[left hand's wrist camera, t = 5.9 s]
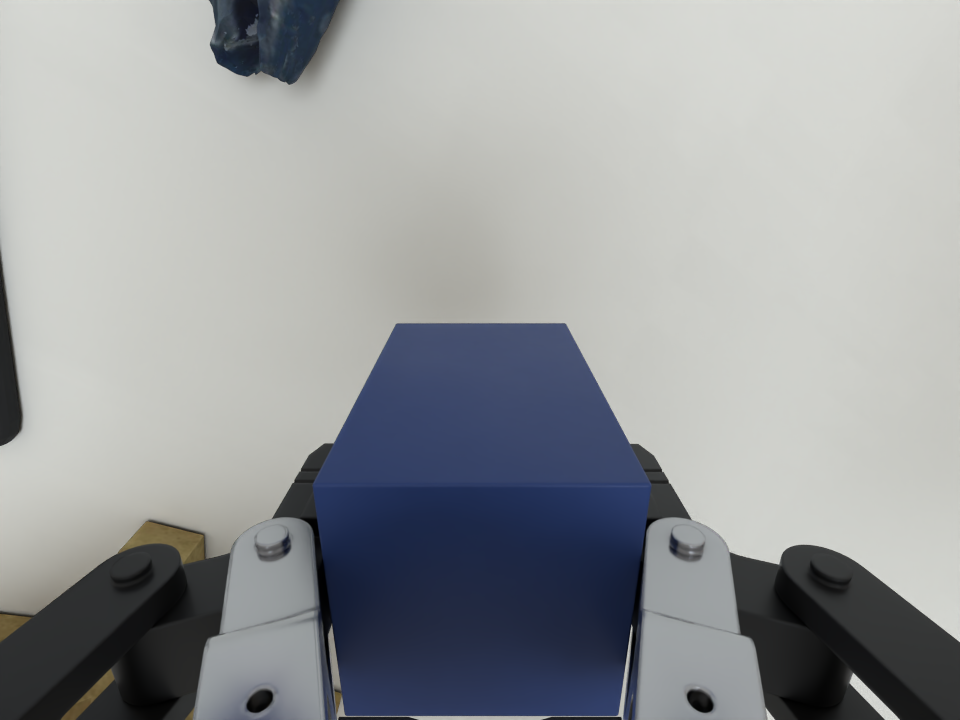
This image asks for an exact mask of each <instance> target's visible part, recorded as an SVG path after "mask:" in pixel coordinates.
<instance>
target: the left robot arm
mask: <svg viewBox="0 0 960 720" xmlns="http://www.w3.org/2000/svg"><path fill="white" fill-rule="evenodd" d="M630 445H631V447H632V449H633V451H634V453H635V455H636V457H637V458H638V460H639V462H640V464H641V466H642V468H643V470H644V472H645V473H646V475H647V477H648V479H649V481H650V483H651V485H652V486H651V492H650V499H649V506H648V513H647V520H646V527H645V534H644V541H643V548H642V555H641V561H640V568H639V575H638V582H637V589H636V596H635V603H634V610H633V617H632V623H631V624H632V627H633V628H632V635H631V642H630V651H629V662H628V672H627V683H626V693H625V704H624V715H623V720H767V714H766V708H767V710H768V711H769V712H770V714H771V715H772V716H773V717H774V719H775V720H884V718H883V717H882V716H881V715H880V714H879V713H878V712H877V711H876V710H875V709H874V708H873V707H872V706H871V705H870V704H869V703H868V702H867V701H866V700H865V699H864V698H863V697H862V696H861V695H860V694H859V693H858V692H857V691H856V690H855V689H854V688H853V687H852V686H851V684H850V683H849V682H850V679H851V677H852V674H853V673H854V674H855V675H856V676H857V677H858V678H859V679H860V680H861V681H862V682H863V683H864V684H865V685H866V686H867V687H868V688H869V689H870V690H871V691H872V692H873V693H874V694H875V695H876V696H877V697H878V698H879V699H880V700H881V701H882V702H883V703H884V704H885V705H886V706H887V707H888V708H889V709H890V710H891V711H892V712H893V713H894V714H895V715H896V716H897V717H898V718H899V719H900V720H960V642H959V641H957V640H956V639H955V638H954V637H952V636H951V635H950V634H948V633H947V632H946V631H945V630H943V629H942V628H941V627H939V626H938V625H937V624H936V623H934V622H933V621H932V620H930V619H929V618H928V617H927V616H925V615H924V614H923V613H921V612H920V611H919V610H918V609H916V608H915V607H914V606H912V605H911V604H910V603H909V602H907V601H906V600H905V599H904V598H902V597H901V596H900V595H898V594H897V593H896V592H895V591H893V590H892V589H891V588H889V587H888V586H887V585H886V584H884V583H883V582H882V581H880V580H879V579H878V578H877V577H875V576H874V575H873V574H871V573H870V572H869V571H868V570H866V569H865V568H864V567H862V566H861V565H860V564H858V563H857V562H855V561H854V560H852V559H850V558H848V557H846V556H844V555H842V554H840V553H838V552H835V551H833V550H830V549H827V548H823V547H819V546H813V545H796V546H792V547H790V548H788V549H786V550H785V551H784V552H783V554H782V556H781V560H780V564H779V565H778V564H773V563H769V562H764V561H760V560H755V559H751V558H746V557H743V556H739V555H736V554H733V553H730V552H729V549H728V546H727V544H726V542H725V541H724V540H723V539H722V537H721V536H720V535H719V534H717V533H716V532H715V531H713V530H712V529H711V528H709V527H707V526H705V525H703V524H701V523H699V522H696V521H693V520H692V519H691V518H690V516H689V514H688V513H687V511H686V509H685V508H684V506H683V504H682V503H681V501H680V499H679V497H678V496H677V494H676V492H675V491H674V489H673V487H672V486H671V484H669V481H668V479H667V477H666V476H665V474H664V472H662V469H661V467H660V465H659V464H658V462H657V460H656V459H655V457H654V456H653V455H652V454H651V453H649V452H648V451H647V450H645V449H644V448H643V447H641V446H640V445H639V444H630ZM332 446H333V444H323V445H322V446H321V447H319V448H318V449H317V450H315V451H314V452H313V453H311V454H310V455H309V456H308V458H307V460H306V461H305V463H304V465H303V466H302V468H301V472H299V473H298V475H297V477H296V479H295V482H294V483H293V484H292V485H291V487H290V489H289V491H288V492H287V494H286V496H285V497H284V499H283V501H282V503H281V504H280V506H279V508H278V509H277V511H276V513H275V515H274V516H273V518H272V519H271V520H267V521H264V522H261V523H259V524H257V525H255V526H253V527H251V528H249V529H248V530H247V531H245V532H244V533H243V534H241V535H240V536H239V537H238V539H237V540H236V541H235V542H234V544H233V546H232V549H231V553H228V554H225V555H222V556H218V557H214V558H209V559H205V560H200V561H196V562H191V563H187V564H183V563H182V559H181V556H180V553H179V551H178V550H177V549H176V548H175V547H173V546H171V545H168V544H161V543H153V544H146V545H141V546H137V547H134V548H130V549H128V550H125V551H123V552H121V553H118V554H116V555H114V556H113V557H111V558H109V559H107V560H106V561H104V562H103V563H102V564H100V565H99V566H98V567H96V568H95V569H94V570H92V571H91V572H90V573H89V574H87V575H86V576H85V577H83V578H82V579H81V580H80V581H78V582H77V583H76V584H74V585H73V586H72V587H71V588H69V589H68V590H67V591H65V592H64V593H63V594H62V595H60V596H59V597H58V598H57V599H55V600H54V601H53V602H51V603H50V604H49V605H48V606H46V607H45V608H44V609H42V610H41V611H40V612H39V613H37V614H36V615H35V616H33V617H32V618H31V619H30V620H28V621H27V622H26V623H24V624H23V625H22V626H21V627H19V628H18V629H17V630H15V631H14V632H13V633H12V634H10V635H9V636H8V637H6V638H5V639H4V640H3V641H1V642H0V720H61V718H62V717H63V716H64V715H65V714H66V713H67V712H68V711H69V710H70V709H71V708H72V707H73V706H74V705H75V704H76V703H77V702H78V701H79V700H80V699H81V698H82V697H83V696H84V695H85V694H86V693H87V692H88V691H89V690H90V689H91V688H92V687H93V686H94V685H95V684H96V683H97V682H98V681H99V680H100V679H101V678H102V677H103V676H104V675H105V674H106V673H107V672H108V671H109V670H110V669H111V671H112V673H113V676H114V680H113V681H112V682H111V683H110V685H109V686H108V687H107V688H106V689H105V690H104V691H103V692H102V693H101V694H100V695H99V696H98V697H97V698H96V699H95V700H94V701H93V702H92V703H91V704H90V705H89V706H88V707H87V708H86V709H85V710H84V711H83V712H82V713H81V714H80V715H79V716H78V717H77V718H76V720H185V719H186V718H187V716H188V715H189V714H190V712H191V711H192V710H193V708H194V707H195V708H194V714H193V720H337V715H336V704H335V693H334V683H333V672H332V662H331V651H330V642H329V635H328V633H329V631H330V628H331V625H332V620H331V613H330V606H329V599H328V592H327V585H326V577H325V570H324V563H323V556H322V549H321V542H320V535H319V528H318V521H317V514H316V507H315V500H314V493H313V486H312V485H313V483H314V481H315V479H316V477H317V475H318V473H319V471H320V469H321V467H322V466H323V464H324V462H325V460H326V458H327V456H328V454H329V452H330V450H331V448H332ZM765 707H766V708H765ZM338 720H417V719H414V718H410V717H339V719H338ZM543 720H622V719H621V717H550V718H546V719H543Z"/></svg>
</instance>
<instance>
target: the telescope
mask: <svg viewBox="0 0 960 720" xmlns="http://www.w3.org/2000/svg"><path fill="white" fill-rule="evenodd" d="M153 543H161V544H168V545H171V546H173V547H175V548H176V549H177V550H178V551H179V553H180V556H181V559H182V563H183V564H187V563H191V562H196V561H200V560H205V555H204V535H200V534H196V533H192V532H188V531H184V530H180V529H176V528H172V527H168V526H164V525H160V524H156V523H152V522H148V521H146V522H145V523H144V525H143V526H142V527H141V528H140V529H139V530H138V531H137V532H136V533H135V534H134V535H133V537H132V538H131V539H130V540H129V541H128V542H127V543H126V544H125V545H124V546H123V548H122V549H121V550H120V551H119V552H118V553H121V552H123V551H125V550H128V549H130V548H134V547H137V546H141V545H146V544H153ZM31 618H32V617H23V616H15V615H6V614H0V642H1V641H3V640H4V639H5V638H6V637H8V636H9V635H10V634H12V633H13V632H14V631H15V630H17V629H18V628H19V627H21V626H22V625H23V624H24V623H26V622H27V621H28V620H30V619H31ZM113 680H114V676H113V673H112V671H111V669H110V670H109V671H108V672H107V673H106V674H105V675H104V676H103V677H102V678H101V679H100V680H99V681H98V682H97V683H96V684H95V685H94V686H93V687H92V688H91V689H90V690H89V691H88V692H87V693H86V694H85V695H84V696H83V697H82V698H81V699H80V700H79V701H78V702H77V703H76V704H75V705H74V706H73V707H72V708H71V709H70V710H69V711H68V712H67V713H66V714H65V715H64V716H63V717H62V718H61V720H76V718H77V717H78V716H79V715H80V714H81V713H82V712H83V711H84V710H85V709H86V708H87V707H88V706H89V705H90V704H91V703H92V702H93V701H94V700H95V699H96V698H97V697H98V696H99V695H100V694H101V693H102V692H103V691H104V690H105V689H106V688H107V687H108V686H109V685H110V683H111V682H112V681H113ZM334 693H335V704H336V715H337V711H338V707H339V704H340V700H341V696H342V694H341V693H338V692H335V691H334ZM194 708H195V707H194ZM194 708H193V710H192V711H191V712H190V714H189V715H188V716H187V718H186V719H185V720H193V714H194Z"/></svg>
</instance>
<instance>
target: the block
mask: <svg viewBox="0 0 960 720" xmlns="http://www.w3.org/2000/svg"><path fill="white" fill-rule="evenodd" d="M312 486H313V493H314V500H315V507H316V514H317V521H318V528H319V535H320V542H321V549H322V556H323V563H324V570H325V577H326V585H327V592H328V599H329V606H330V613H331V620H332V627H333V634H334V641H335V648H336V655H337V662H338V669H339V676H340V683H341V690H342V697H343V704H344V711H345V715H346V716H617V715H618V713H619V706H620V699H621V692H622V686H623V679H624V672H625V665H626V658H627V651H628V644H629V637H630V630H631V623H632V617H633V610H634V603H635V596H636V589H637V582H638V575H639V568H640V561H641V555H642V548H643V541H644V534H645V527H646V520H647V513H648V506H649V499H650V492H651V486H652V485H651V483H650V481H649V479H648V477H647V475H646V473H645V472H644V470H643V468H642V466H641V464H640V462H639V460H638V458H637V457H636V455H635V453H634V451H633V449H632V447H631V445H630V443H629V442H628V440H627V438H626V436H625V434H624V432H623V430H622V428H621V427H620V425H619V423H618V421H617V419H616V417H615V415H614V413H613V412H612V410H611V408H610V406H609V404H608V402H607V400H606V398H605V397H604V395H603V393H602V391H601V389H600V387H599V385H598V383H597V382H596V380H595V378H594V376H593V374H592V372H591V370H590V368H589V367H588V365H587V363H586V361H585V359H584V357H583V355H582V353H581V352H580V350H579V348H578V346H577V344H576V342H575V340H574V338H573V337H572V335H571V333H570V331H569V329H568V327H567V325H566V324H565V323H441V324H396V325H395V327H394V329H393V331H392V333H391V335H390V337H389V339H388V341H387V343H386V345H385V346H384V348H383V350H382V352H381V354H380V356H379V358H378V360H377V362H376V364H375V366H374V368H373V370H372V371H371V373H370V375H369V377H368V379H367V381H366V383H365V385H364V387H363V389H362V391H361V393H360V394H359V396H358V398H357V400H356V402H355V404H354V406H353V408H352V410H351V412H350V414H349V416H348V418H347V419H346V421H345V423H344V425H343V427H342V429H341V431H340V433H339V435H338V437H337V439H336V441H335V442H334V444H333V446H332V448H331V450H330V452H329V454H328V456H327V458H326V460H325V462H324V464H323V466H322V467H321V469H320V471H319V473H318V475H317V477H316V479H315V481H314V483H313V485H312Z"/></svg>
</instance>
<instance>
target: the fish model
mask: <svg viewBox="0 0 960 720" xmlns="http://www.w3.org/2000/svg"><path fill="white" fill-rule="evenodd" d="M209 1H210V3H211V4H212V6H213V11H214V18H215V24H216V27H215V30H214V33H213V36H212V39H211V42H210V46H211V49H212V51H213V53H214V55H215V59H216V61H217V63H218V64H219V65H221V66H223V67H225V68H227V69H229V70H230V71H232V72H234V73H236V74H239V75H242V76H246V77H248V76H250V75H251V74H253V73H255V75H256V74H258V73H259V72H260V71H262V72H264V73H266V74H268V75H271V76H273V77H275V78H278V79H279V80H280V81H282V82H287V83H288V84H293V83H295V82H296V81H297V80H298V78H299V77H300V75H301V74H302V72H303V70H304V69H305V67H306V66H307V64H308V63H309V61H310V60H311V58H312V57H313V55H314V53H315V52H316V50H317V47H318V44H319V42H320V39H321V37H322V36H323V34H324V33H325V31H326V30H327V28H328V26H329V23H330V21H331V18H332V16H333V14H334V11H335V9H336V7H337V4H338V2H339V1H340V0H209Z"/></svg>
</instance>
